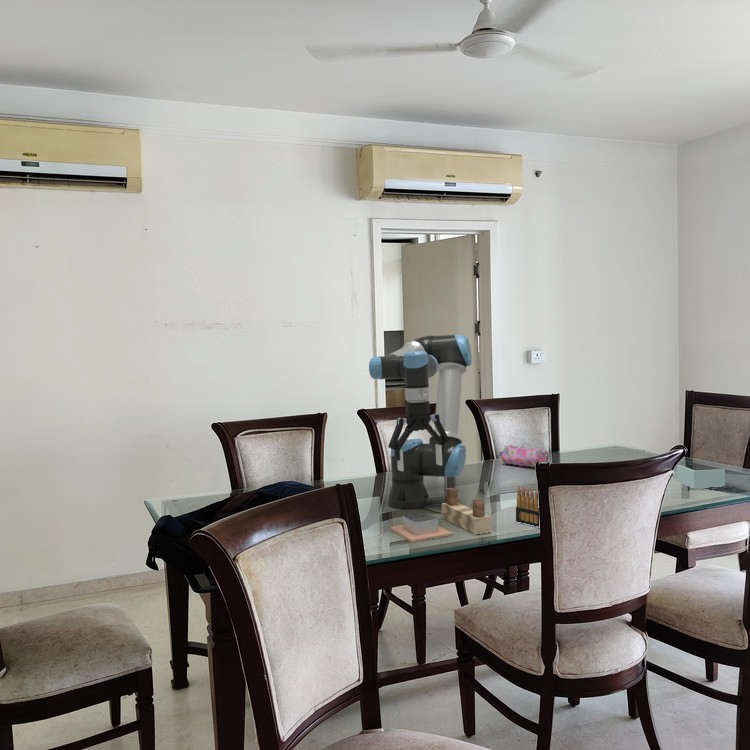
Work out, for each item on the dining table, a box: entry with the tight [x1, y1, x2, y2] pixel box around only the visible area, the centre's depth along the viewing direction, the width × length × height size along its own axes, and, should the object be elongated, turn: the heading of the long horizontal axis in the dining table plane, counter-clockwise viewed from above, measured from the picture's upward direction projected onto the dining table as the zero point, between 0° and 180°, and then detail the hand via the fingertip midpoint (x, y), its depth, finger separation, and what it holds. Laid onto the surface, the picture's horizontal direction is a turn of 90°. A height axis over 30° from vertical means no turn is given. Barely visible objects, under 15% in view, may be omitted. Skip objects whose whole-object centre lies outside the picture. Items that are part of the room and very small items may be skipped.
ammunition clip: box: [515, 485, 539, 527], centre depth 218 cm, size 11×2×12 cm, turn 38°
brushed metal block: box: [402, 511, 440, 535], centre depth 214 cm, size 9×8×4 cm
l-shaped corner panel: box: [676, 464, 726, 489], centre depth 260 cm, size 12×12×8 cm
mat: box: [389, 524, 454, 543], centre depth 214 cm, size 16×14×1 cm
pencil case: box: [499, 445, 550, 469], centre depth 309 cm, size 21×9×9 cm, turn 42°
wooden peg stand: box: [441, 487, 491, 536], centre depth 220 cm, size 22×5×10 cm, turn 23°
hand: (420, 467), depth 216 cm, fingers open, 13 cm apart
